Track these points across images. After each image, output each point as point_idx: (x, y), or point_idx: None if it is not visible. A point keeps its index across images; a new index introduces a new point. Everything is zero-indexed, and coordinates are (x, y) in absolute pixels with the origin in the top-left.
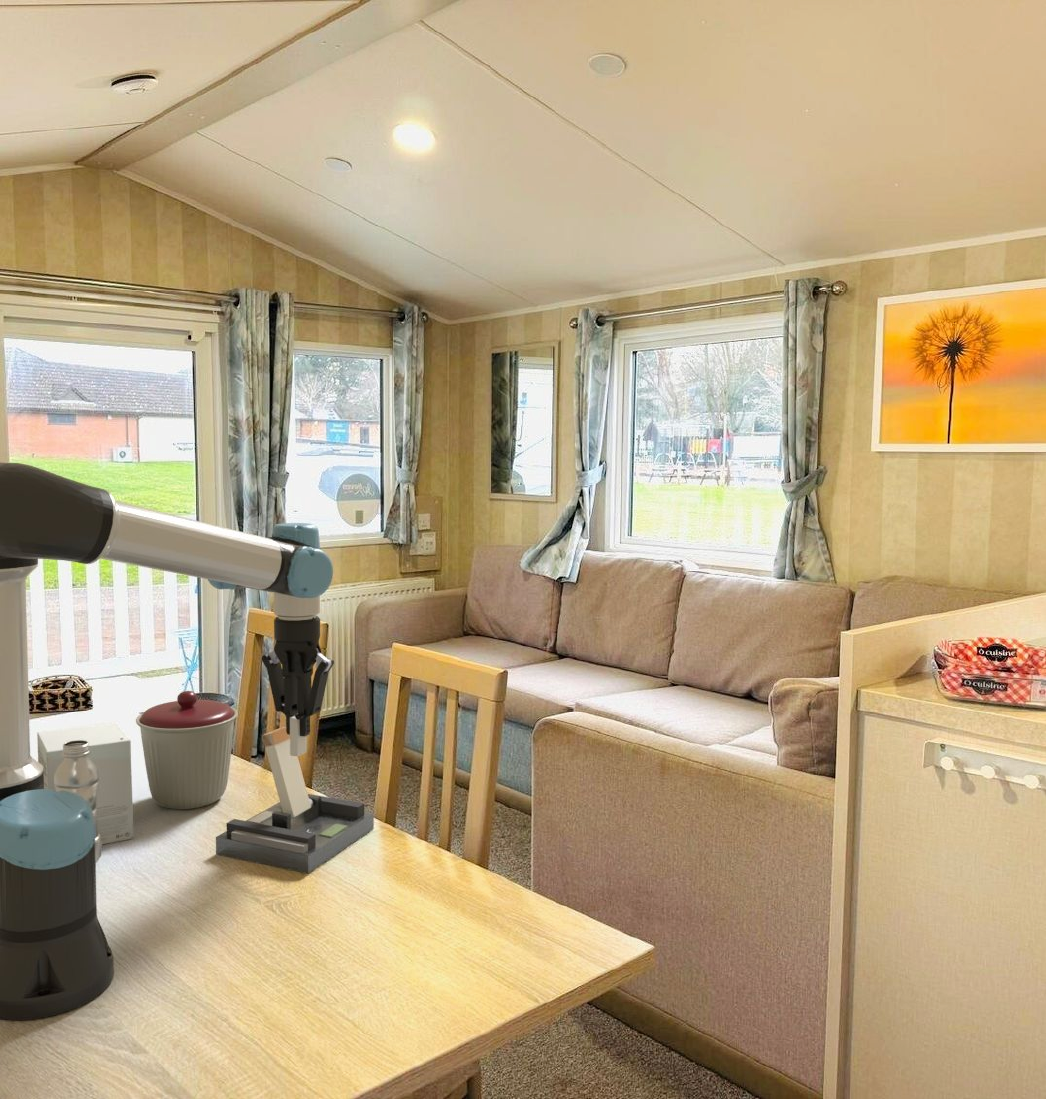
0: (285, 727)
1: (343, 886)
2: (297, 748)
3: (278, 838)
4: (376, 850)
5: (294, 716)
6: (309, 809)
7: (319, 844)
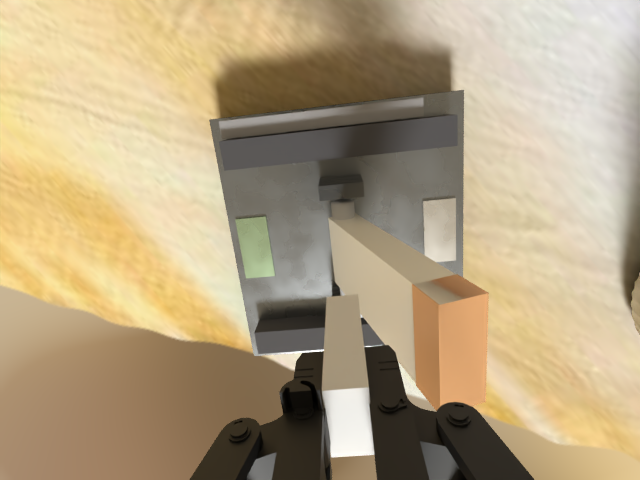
0: (439, 392)
1: (126, 109)
2: (326, 311)
3: (299, 128)
4: (190, 265)
5: (363, 413)
6: None
7: (231, 178)
